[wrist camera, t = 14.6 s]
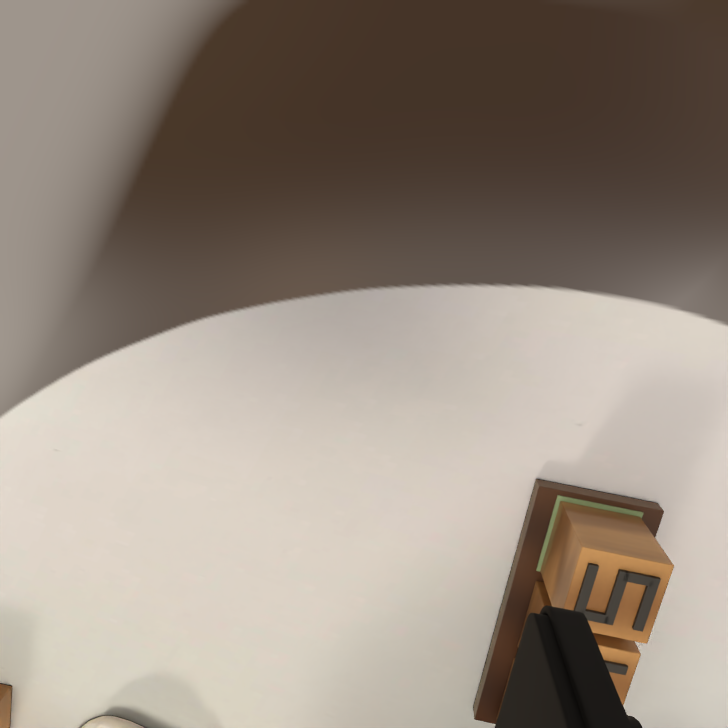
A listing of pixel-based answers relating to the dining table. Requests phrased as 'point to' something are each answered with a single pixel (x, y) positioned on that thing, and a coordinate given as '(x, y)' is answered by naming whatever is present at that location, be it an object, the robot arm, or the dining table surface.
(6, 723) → the letter block O
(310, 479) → the dining table surface
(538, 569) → the word rack
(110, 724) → the rose
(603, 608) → the letter block S
